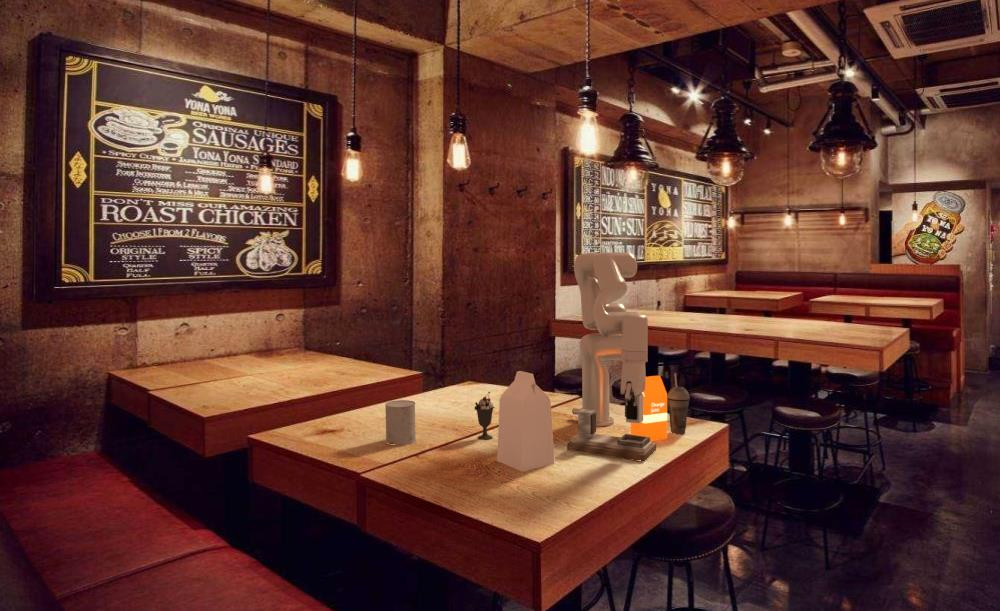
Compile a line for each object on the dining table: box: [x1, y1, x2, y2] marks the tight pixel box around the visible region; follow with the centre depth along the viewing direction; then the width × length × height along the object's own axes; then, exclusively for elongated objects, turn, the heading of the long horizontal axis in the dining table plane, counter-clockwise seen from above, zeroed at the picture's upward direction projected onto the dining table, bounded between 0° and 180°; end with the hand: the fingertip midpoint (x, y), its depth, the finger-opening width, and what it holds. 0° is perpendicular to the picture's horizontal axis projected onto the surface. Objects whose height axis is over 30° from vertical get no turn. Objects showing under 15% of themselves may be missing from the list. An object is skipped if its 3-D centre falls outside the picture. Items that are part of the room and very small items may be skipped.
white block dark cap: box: [624, 393, 643, 424], centre depth 188 cm, size 4×4×8 cm
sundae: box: [474, 391, 496, 441], centre depth 207 cm, size 7×7×15 cm
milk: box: [496, 370, 555, 473], centre depth 181 cm, size 12×12×26 cm
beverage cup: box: [667, 372, 691, 435], centre depth 211 cm, size 7×7×20 cm
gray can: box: [384, 399, 417, 446], centre depth 204 cm, size 10×10×12 cm
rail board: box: [566, 409, 657, 462], centre depth 192 cm, size 24×12×11 cm, turn 61°
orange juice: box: [630, 375, 668, 442], centre depth 205 cm, size 8×9×20 cm
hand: (634, 416), depth 188 cm, fingers closed on white block dark cap, 4 cm apart
